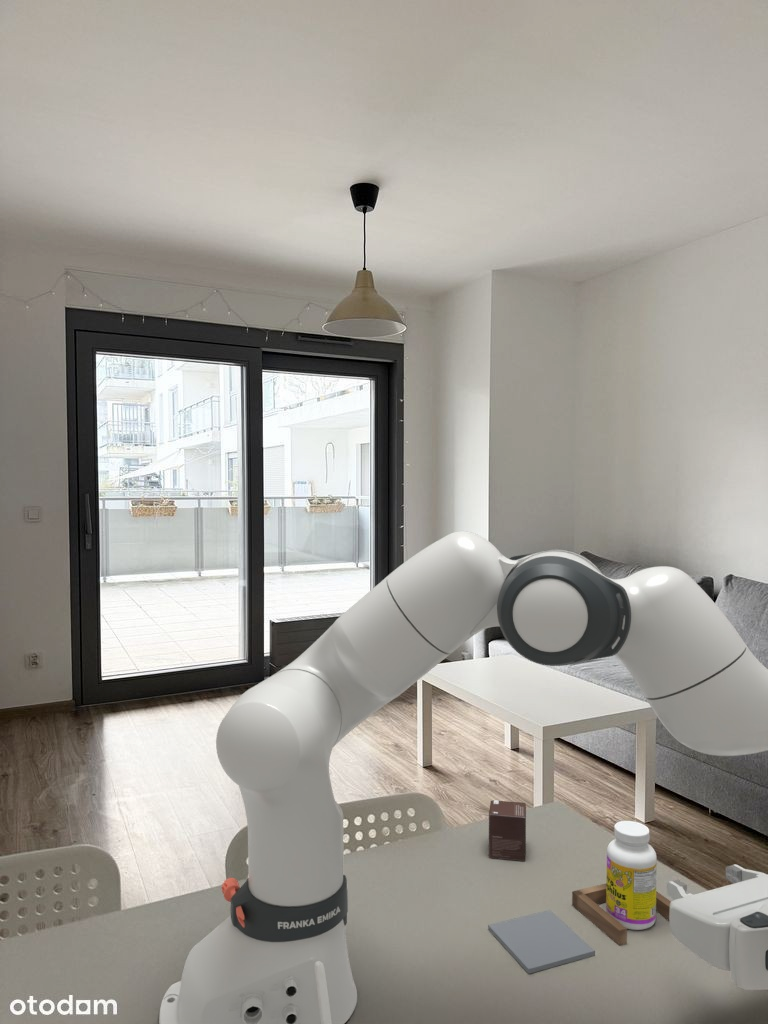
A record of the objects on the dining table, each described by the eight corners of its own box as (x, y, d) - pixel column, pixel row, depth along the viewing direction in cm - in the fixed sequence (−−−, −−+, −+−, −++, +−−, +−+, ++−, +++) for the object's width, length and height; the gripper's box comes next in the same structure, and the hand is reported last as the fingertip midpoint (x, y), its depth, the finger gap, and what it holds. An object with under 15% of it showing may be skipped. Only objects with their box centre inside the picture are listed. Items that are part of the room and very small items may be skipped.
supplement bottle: (597, 907, 105) (598, 819, 105) (639, 902, 106) (640, 815, 106) (620, 934, 98) (621, 840, 98) (665, 929, 100) (666, 836, 99)
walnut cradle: (619, 945, 96) (619, 930, 96) (572, 905, 105) (572, 891, 105) (686, 926, 100) (686, 912, 100) (635, 889, 110) (635, 876, 110)
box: (525, 862, 118) (525, 817, 118) (488, 858, 119) (488, 814, 119) (526, 844, 124) (526, 802, 124) (490, 841, 125) (490, 799, 125)
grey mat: (528, 973, 90) (528, 969, 90) (488, 929, 99) (488, 924, 99) (595, 955, 94) (595, 950, 94) (549, 913, 103) (550, 909, 103)
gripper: (867, 890, 82) (762, 837, 94) (730, 933, 74) (636, 869, 87) (867, 946, 82) (762, 886, 94) (730, 994, 74) (636, 921, 87)
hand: (701, 878), depth 91 cm, fingers open, 8 cm apart
